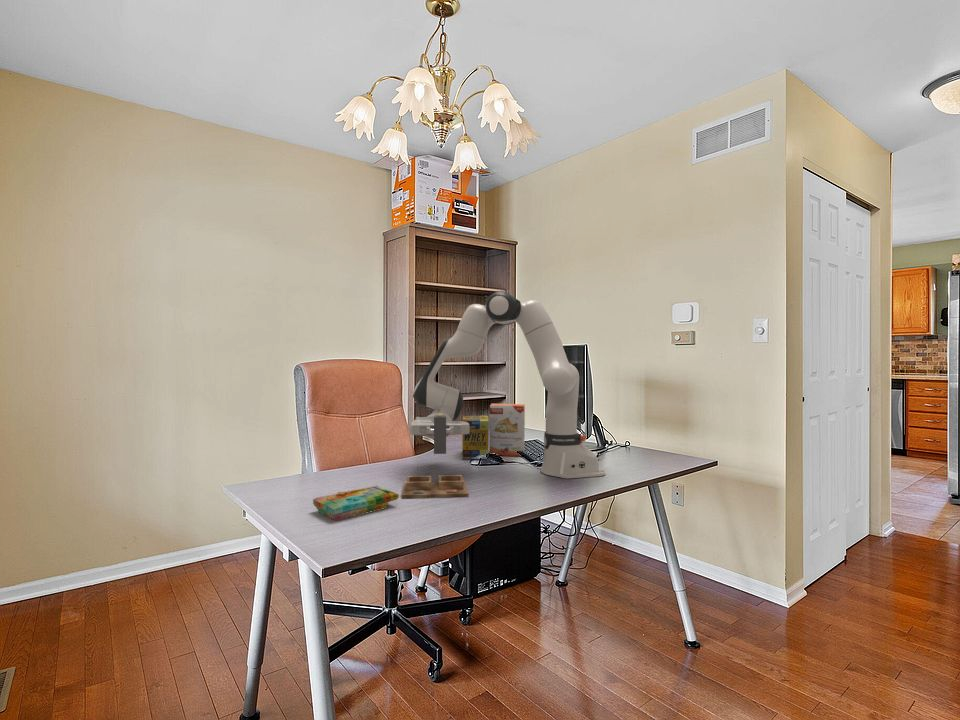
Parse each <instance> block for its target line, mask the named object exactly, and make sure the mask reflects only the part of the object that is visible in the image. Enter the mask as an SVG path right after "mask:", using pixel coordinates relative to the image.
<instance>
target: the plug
mask: <svg viewBox="0 0 960 720" xmlns="http://www.w3.org/2000/svg"><path fill="white" fill-rule="evenodd" d="M442 454H443V455H446V454H447V437H446V416H443V414H437V416H434V437H433V455H442Z"/></svg>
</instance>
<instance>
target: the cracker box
mask: <svg viewBox="0 0 960 720" xmlns="http://www.w3.org/2000/svg"><path fill="white" fill-rule="evenodd" d="M525 405H526V404H525V403H524V404H523V403H522V404H520V403H519V404H517V403H491V404H490V405H489V447H488V454H489V453H495V454H498V455H502V456H503V457H519V458H521V457H520V455H519V454H518V453H517V451H523V450H524V451H525V430H526V428H525V425H526V424H525V423H526V421H525V418H526V417H525V416H526V415H525V414H526V411H525V410H526V407H525ZM498 455H497V456H498ZM502 456H501V457H502Z"/></svg>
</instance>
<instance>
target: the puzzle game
mask: <svg viewBox="0 0 960 720" xmlns="http://www.w3.org/2000/svg"><path fill="white" fill-rule="evenodd" d="M399 495H400V494H398V493H396V492H393V491H391V490H388V489H386V488H383V487H380V486H378V485H373V486H368V487H364V488H357V489H352V490H348V491H343V492H342V491H337V493H335V494H327V495H324V496H320V497H315V498H314V499H312V505H313V506H314V507H315V508H316V510H317V512H319V513H320V512H321V513H320V514H322V513H323V514H322V515H324V514H325V515H324V516H326V515H327V516H326V517H328V518H330V519H331V518H332V519H331V520H333V519H334V521H335V520H336V521H339V520H338V519H340V520H343V519H342V518H344V519H347V518H346V517H348V518H351V517H350V516H352V517H354V516H353V515H356V516H359V515H358V514H360V515H363V514H362V513H364V514H367V513H366V512H368V513H371V512H370V511H372V512H375V511H374V510H376V511H379V510H378V509H380V510H383V509H382V508H384V509H385V508H386V507H387V506H388V503H390V502H394V501H397V500H398V499H399V497H400V496H399Z"/></svg>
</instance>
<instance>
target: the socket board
mask: <svg viewBox="0 0 960 720" xmlns="http://www.w3.org/2000/svg"><path fill="white" fill-rule="evenodd" d="M469 493H470V492H469V490H468V487H467V483H466V481H465V480H464V478H463V475H462V474H454V475H453V474H452V475H447V474H446V475H443V474H442V475H438V481H432V476H431V475H409V476H408V475H407V476H406V481H405V482H403V485H402V490H401V496H400V497H401V498H402V499H430V498H429V497H442V498H468V497H469ZM401 498H400V499H401Z"/></svg>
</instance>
